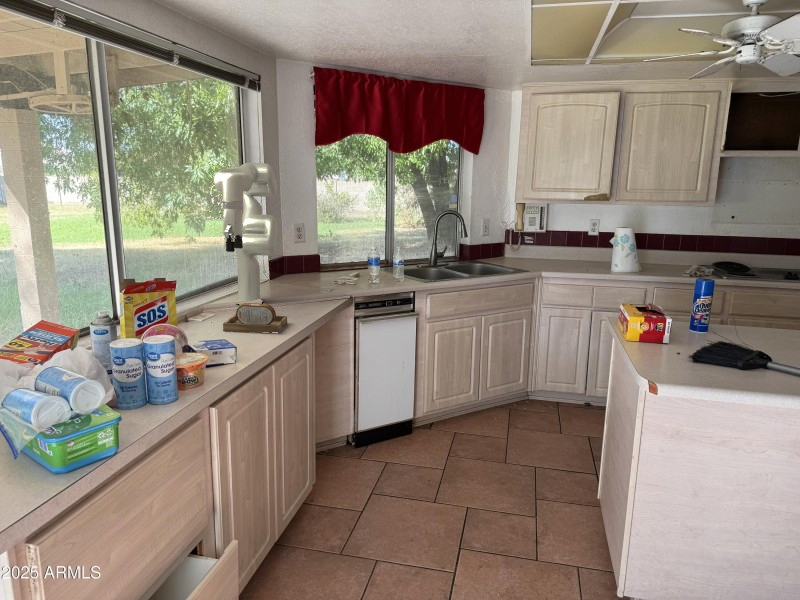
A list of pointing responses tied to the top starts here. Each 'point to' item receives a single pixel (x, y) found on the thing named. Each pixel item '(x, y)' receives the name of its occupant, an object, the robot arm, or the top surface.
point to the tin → (255, 314)
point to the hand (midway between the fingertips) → (234, 249)
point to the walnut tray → (237, 326)
